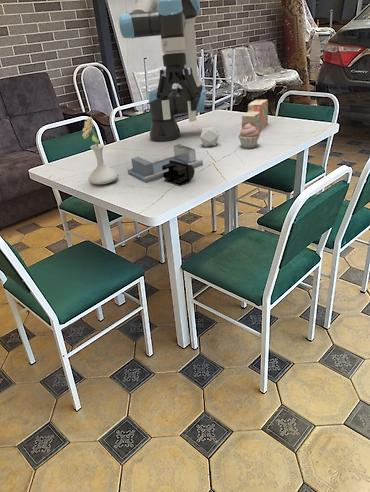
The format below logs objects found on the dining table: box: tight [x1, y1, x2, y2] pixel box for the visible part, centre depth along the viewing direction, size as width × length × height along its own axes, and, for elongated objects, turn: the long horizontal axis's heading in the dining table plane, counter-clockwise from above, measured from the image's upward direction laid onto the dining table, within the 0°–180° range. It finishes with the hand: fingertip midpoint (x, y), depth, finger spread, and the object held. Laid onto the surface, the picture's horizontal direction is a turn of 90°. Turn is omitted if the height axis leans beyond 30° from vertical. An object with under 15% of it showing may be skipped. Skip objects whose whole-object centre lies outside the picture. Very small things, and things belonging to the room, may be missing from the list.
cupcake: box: [238, 123, 261, 149], centre depth 182 cm, size 9×9×10 cm
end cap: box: [162, 160, 195, 187], centre depth 154 cm, size 10×7×7 cm
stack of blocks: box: [241, 99, 269, 133], centre depth 204 cm, size 21×6×12 cm, turn 154°
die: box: [199, 126, 220, 148], centre depth 189 cm, size 8×9×10 cm
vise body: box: [127, 155, 204, 184], centre depth 166 cm, size 14×26×6 cm, turn 124°
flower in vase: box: [82, 116, 119, 186], centre depth 155 cm, size 13×11×25 cm
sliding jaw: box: [173, 143, 197, 163], centre depth 171 cm, size 11×6×5 cm, turn 34°
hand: (179, 120), depth 147 cm, fingers open, 13 cm apart
